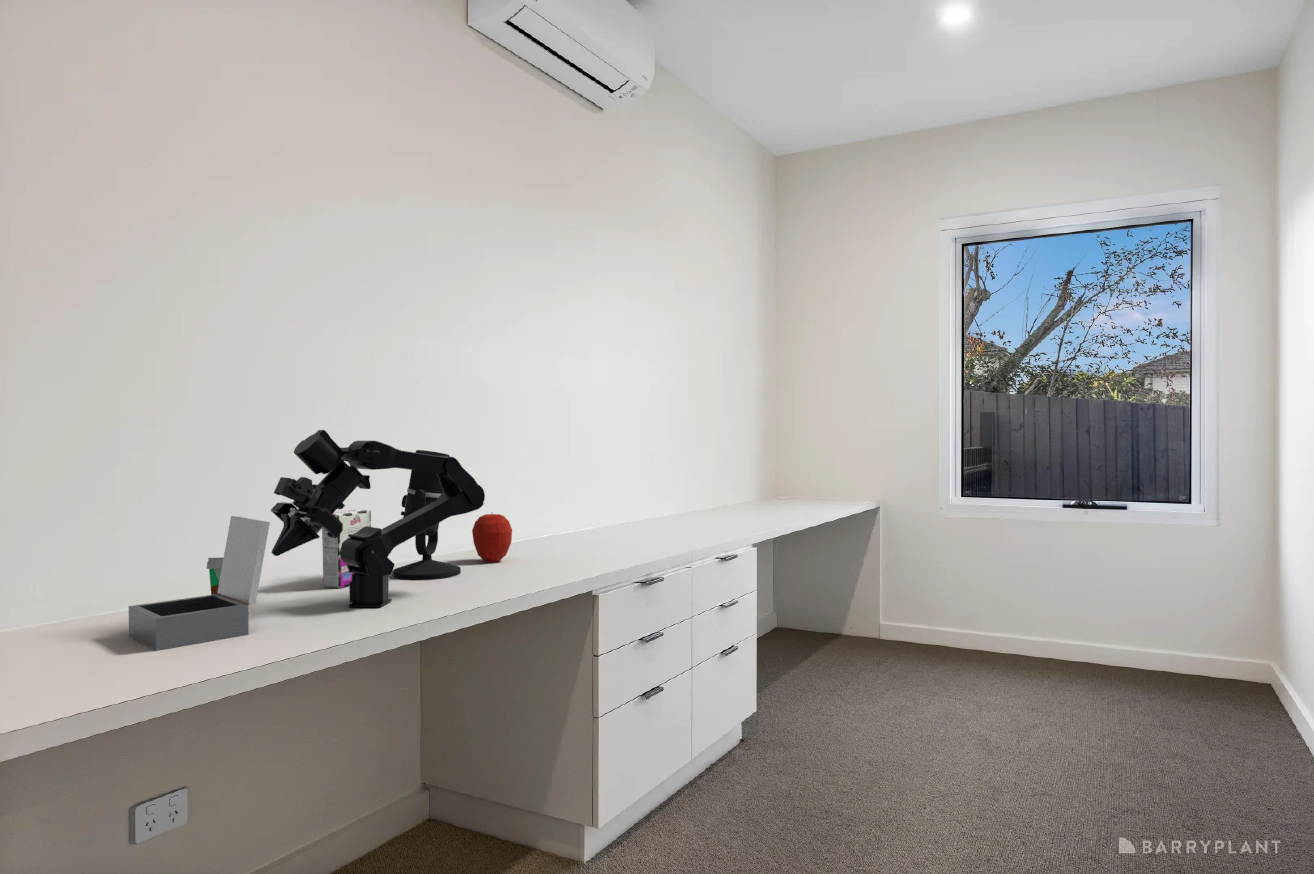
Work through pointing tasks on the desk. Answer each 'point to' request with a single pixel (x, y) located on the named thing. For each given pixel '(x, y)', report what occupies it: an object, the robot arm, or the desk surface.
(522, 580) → the desk surface
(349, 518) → the candy bar box
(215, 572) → the food container
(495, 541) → the apple
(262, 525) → the lid
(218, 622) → the grey storage bin
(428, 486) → the microphone
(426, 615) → the desk surface
